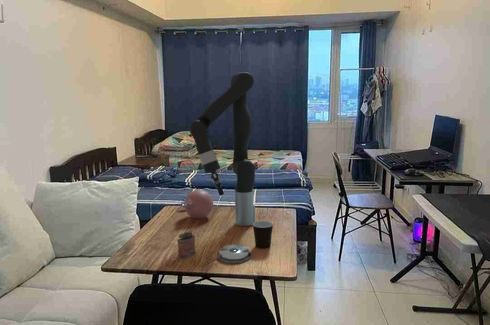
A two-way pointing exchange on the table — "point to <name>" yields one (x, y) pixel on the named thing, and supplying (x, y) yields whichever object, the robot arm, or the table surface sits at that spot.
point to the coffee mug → (262, 234)
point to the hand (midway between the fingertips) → (221, 194)
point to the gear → (183, 200)
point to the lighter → (186, 245)
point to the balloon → (198, 204)
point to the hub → (233, 254)
